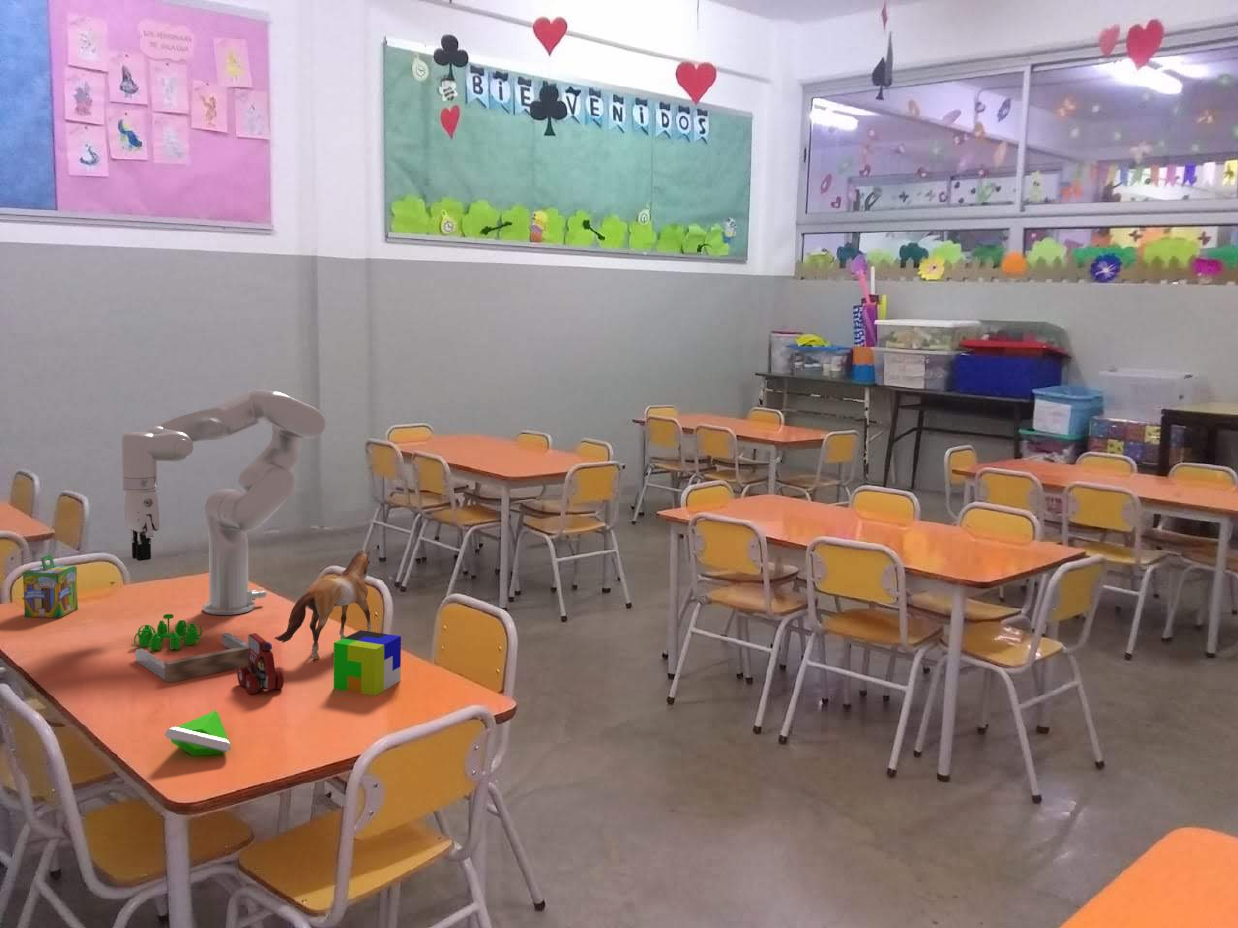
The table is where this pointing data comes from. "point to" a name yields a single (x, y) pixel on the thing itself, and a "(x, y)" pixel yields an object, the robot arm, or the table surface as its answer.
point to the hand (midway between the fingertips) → (141, 558)
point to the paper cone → (201, 736)
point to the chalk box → (50, 590)
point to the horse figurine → (331, 600)
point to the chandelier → (168, 634)
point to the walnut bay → (198, 661)
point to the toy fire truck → (259, 667)
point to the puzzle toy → (367, 662)
